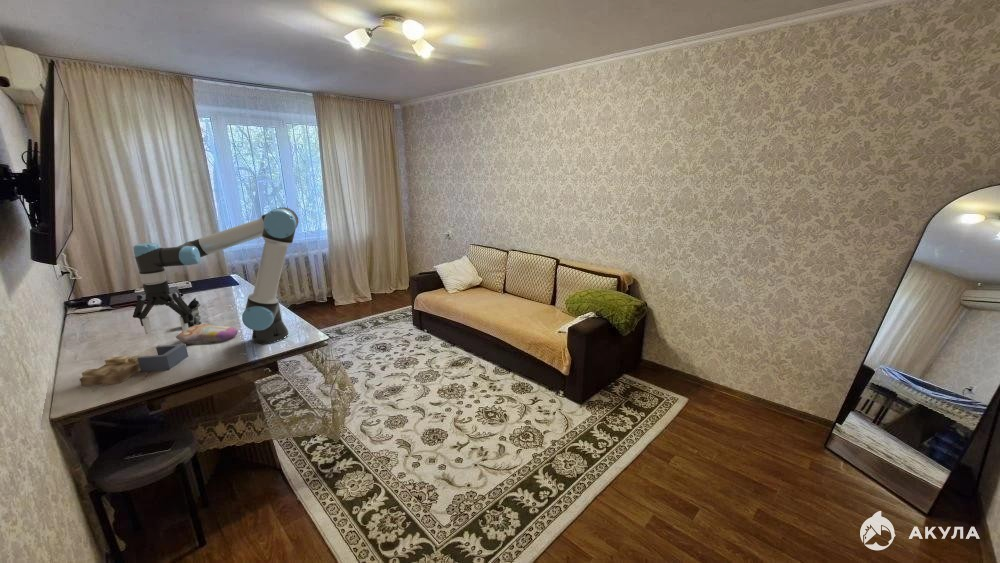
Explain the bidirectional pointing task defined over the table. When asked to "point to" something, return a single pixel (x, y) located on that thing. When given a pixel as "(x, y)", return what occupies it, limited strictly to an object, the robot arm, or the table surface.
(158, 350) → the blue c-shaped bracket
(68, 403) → the table surface
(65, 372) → the table surface
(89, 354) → the table surface
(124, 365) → the stand
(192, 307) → the figurine
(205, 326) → the sculpture
